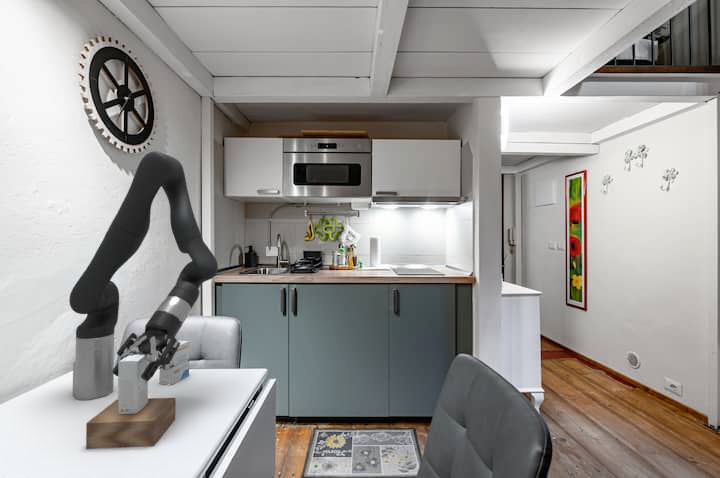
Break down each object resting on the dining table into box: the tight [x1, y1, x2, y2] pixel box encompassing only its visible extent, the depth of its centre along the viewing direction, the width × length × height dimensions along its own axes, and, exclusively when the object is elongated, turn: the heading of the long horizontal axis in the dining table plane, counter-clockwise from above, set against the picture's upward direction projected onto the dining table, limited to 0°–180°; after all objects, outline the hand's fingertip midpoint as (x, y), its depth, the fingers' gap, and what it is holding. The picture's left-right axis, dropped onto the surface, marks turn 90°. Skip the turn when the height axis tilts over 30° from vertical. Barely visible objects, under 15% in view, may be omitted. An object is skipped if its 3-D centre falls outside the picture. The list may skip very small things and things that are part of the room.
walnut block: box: [85, 397, 177, 450], centre depth 87 cm, size 14×12×6 cm
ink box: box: [158, 339, 191, 386], centre depth 120 cm, size 9×5×12 cm, turn 168°
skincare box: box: [117, 353, 149, 414], centre depth 87 cm, size 6×4×12 cm
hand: (130, 377), depth 85 cm, fingers open, 8 cm apart
